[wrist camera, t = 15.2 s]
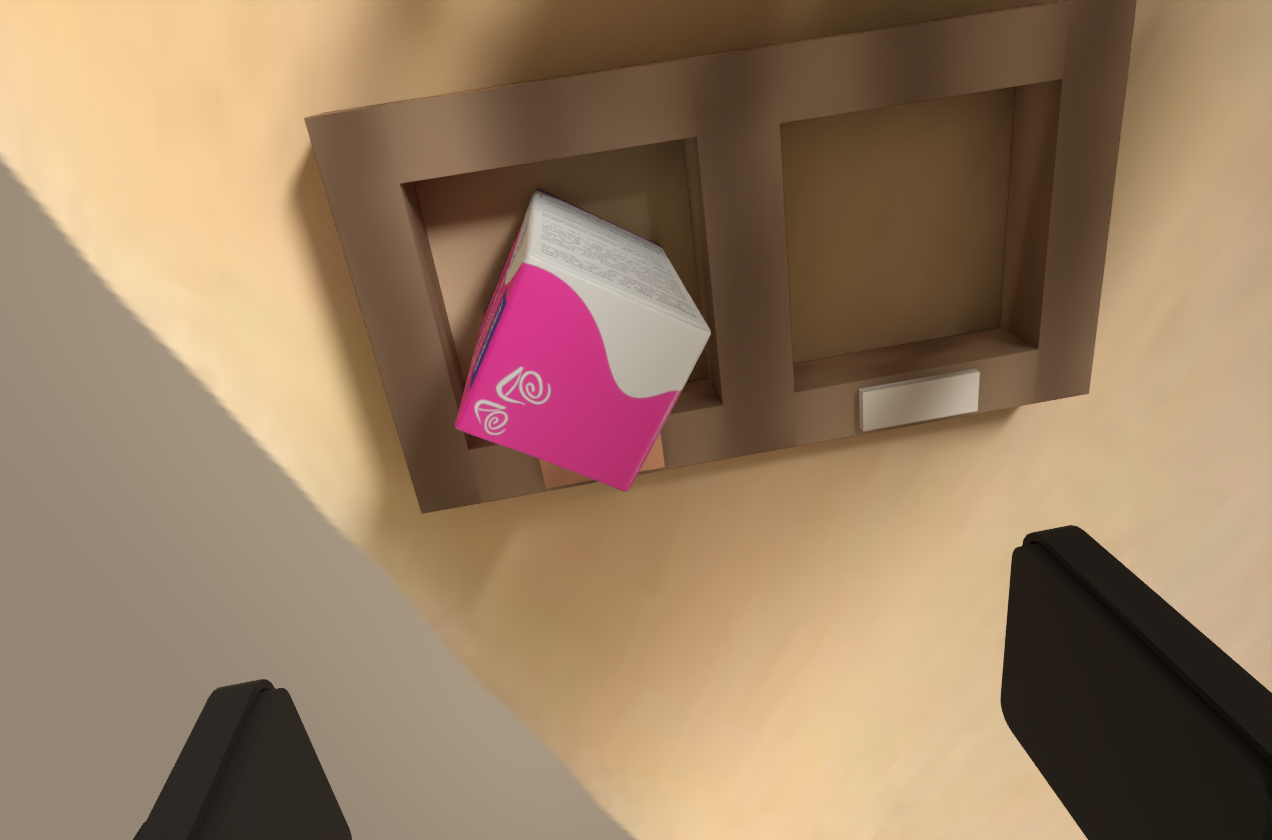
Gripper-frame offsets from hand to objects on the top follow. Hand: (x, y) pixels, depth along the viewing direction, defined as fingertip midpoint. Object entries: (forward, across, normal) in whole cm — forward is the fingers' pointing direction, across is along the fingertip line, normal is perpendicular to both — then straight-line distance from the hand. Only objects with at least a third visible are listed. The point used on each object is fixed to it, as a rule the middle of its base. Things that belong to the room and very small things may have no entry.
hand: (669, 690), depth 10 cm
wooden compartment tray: (+24, -6, +1) cm, 25 cm away
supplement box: (+24, 0, +1) cm, 25 cm away
